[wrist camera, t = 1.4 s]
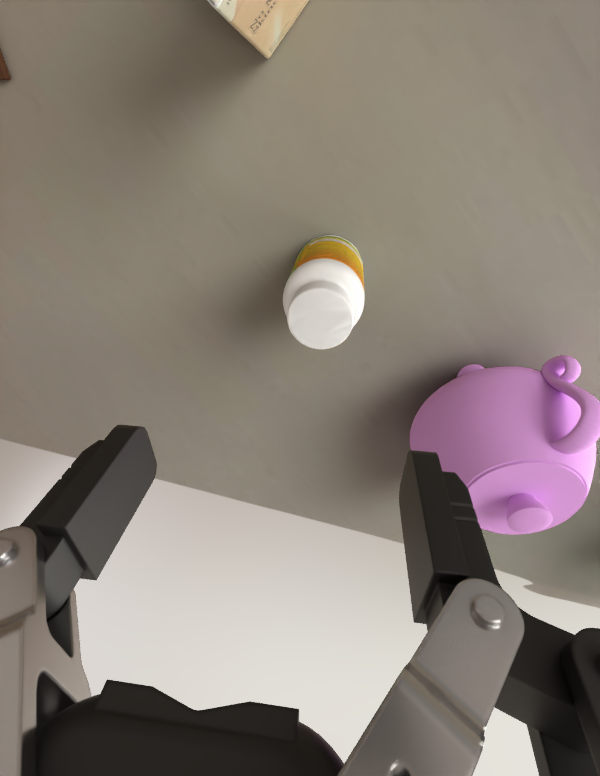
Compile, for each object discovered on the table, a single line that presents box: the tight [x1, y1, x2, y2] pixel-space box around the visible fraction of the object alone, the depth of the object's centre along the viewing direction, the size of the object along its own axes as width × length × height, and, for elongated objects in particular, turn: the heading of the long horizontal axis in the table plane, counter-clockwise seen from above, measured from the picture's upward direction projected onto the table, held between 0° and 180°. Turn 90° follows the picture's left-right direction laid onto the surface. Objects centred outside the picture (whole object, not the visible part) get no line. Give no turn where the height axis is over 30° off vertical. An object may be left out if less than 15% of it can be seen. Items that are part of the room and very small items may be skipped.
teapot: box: [410, 355, 600, 535], centre depth 31 cm, size 20×14×12 cm
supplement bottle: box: [283, 235, 364, 349], centre depth 26 cm, size 5×5×10 cm
